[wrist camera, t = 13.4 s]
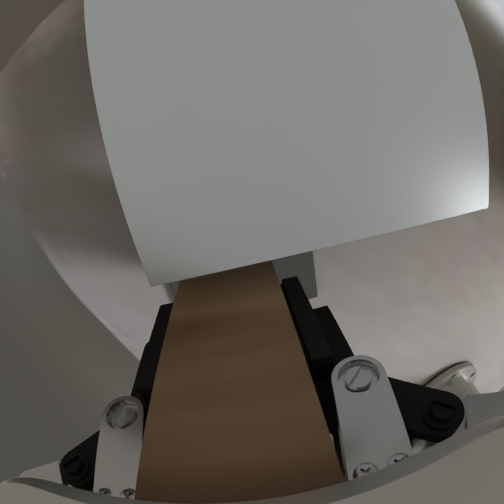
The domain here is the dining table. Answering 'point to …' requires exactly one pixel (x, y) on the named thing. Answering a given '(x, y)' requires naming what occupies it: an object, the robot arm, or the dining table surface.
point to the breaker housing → (283, 124)
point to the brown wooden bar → (233, 398)
